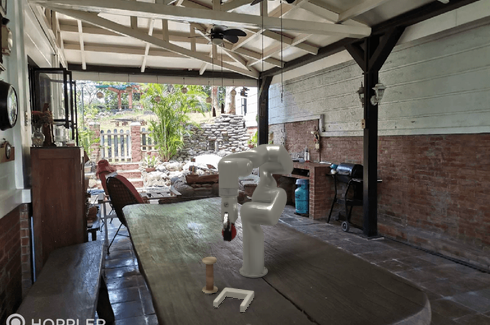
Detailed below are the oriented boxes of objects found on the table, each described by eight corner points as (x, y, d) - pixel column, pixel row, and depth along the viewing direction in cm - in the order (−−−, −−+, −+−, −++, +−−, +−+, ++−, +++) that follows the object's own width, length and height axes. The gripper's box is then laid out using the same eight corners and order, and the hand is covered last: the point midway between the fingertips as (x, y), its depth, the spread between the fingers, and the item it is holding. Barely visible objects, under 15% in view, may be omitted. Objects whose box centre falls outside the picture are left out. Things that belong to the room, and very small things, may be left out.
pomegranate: (238, 243, 132) (237, 222, 131) (222, 244, 131) (222, 223, 130) (235, 239, 137) (235, 219, 137) (221, 240, 136) (220, 220, 136)
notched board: (225, 293, 134) (225, 287, 134) (254, 297, 130) (254, 291, 130) (213, 308, 123) (213, 301, 122) (244, 313, 119) (244, 306, 119)
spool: (206, 287, 140) (205, 255, 139) (220, 289, 138) (219, 257, 137) (199, 293, 134) (199, 261, 133) (214, 295, 132) (213, 262, 131)
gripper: (234, 196, 123) (234, 245, 125) (242, 188, 140) (242, 232, 142) (213, 195, 125) (214, 244, 126) (224, 188, 142) (224, 231, 143)
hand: (229, 237), depth 134 cm, fingers closed on pomegranate, 5 cm apart
